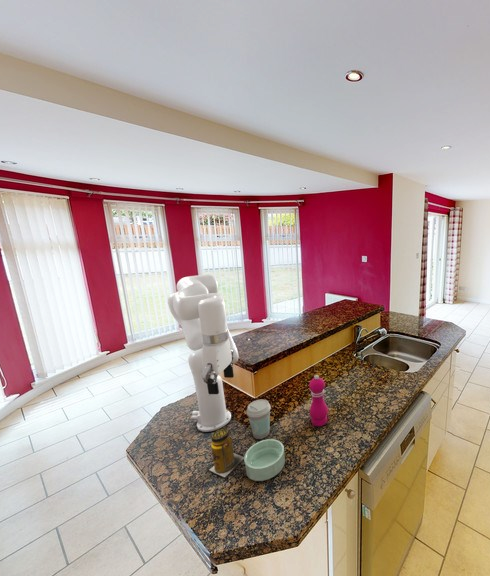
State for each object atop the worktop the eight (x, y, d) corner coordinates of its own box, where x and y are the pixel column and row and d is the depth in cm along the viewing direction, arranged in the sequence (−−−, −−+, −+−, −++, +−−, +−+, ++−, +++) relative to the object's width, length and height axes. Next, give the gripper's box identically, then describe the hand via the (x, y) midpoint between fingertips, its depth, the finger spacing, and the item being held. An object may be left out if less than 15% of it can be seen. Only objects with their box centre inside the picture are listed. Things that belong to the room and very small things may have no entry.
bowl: (239, 482, 85) (237, 468, 84) (254, 451, 97) (253, 439, 96) (278, 482, 85) (277, 468, 84) (289, 451, 97) (288, 439, 96)
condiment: (208, 470, 90) (203, 437, 88) (229, 451, 98) (225, 421, 95) (224, 478, 87) (219, 444, 85) (245, 458, 95) (241, 426, 92)
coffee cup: (249, 429, 109) (245, 401, 106) (272, 423, 111) (269, 396, 109) (249, 444, 101) (246, 414, 98) (274, 437, 104) (271, 408, 101)
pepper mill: (325, 428, 108) (322, 380, 104) (307, 426, 109) (304, 379, 105) (330, 416, 115) (328, 371, 111) (313, 414, 116) (310, 370, 112)
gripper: (218, 327, 98) (224, 371, 102) (187, 348, 81) (195, 400, 85) (239, 327, 97) (244, 372, 101) (212, 348, 81) (219, 401, 84)
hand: (221, 385), depth 93 cm, fingers open, 9 cm apart
